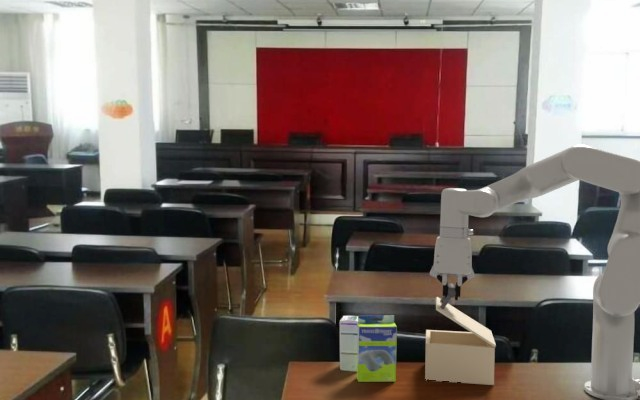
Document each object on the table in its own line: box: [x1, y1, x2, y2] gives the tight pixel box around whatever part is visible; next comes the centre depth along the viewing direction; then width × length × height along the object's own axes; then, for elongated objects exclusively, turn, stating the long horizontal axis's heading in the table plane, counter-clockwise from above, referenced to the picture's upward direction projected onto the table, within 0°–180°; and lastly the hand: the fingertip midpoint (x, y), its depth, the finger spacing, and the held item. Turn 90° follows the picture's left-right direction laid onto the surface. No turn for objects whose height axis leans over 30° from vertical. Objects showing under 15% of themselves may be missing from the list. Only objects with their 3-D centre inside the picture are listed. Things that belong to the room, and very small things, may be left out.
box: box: [356, 314, 398, 383], centre depth 167 cm, size 10×4×17 cm, turn 93°
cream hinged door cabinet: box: [424, 329, 496, 386], centre depth 172 cm, size 18×14×10 cm
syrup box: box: [339, 315, 359, 372], centre depth 176 cm, size 6×6×14 cm
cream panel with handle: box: [435, 282, 497, 348], centre depth 170 cm, size 18×14×7 cm
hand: (451, 298), depth 171 cm, fingers closed on cream panel with handle, 2 cm apart
